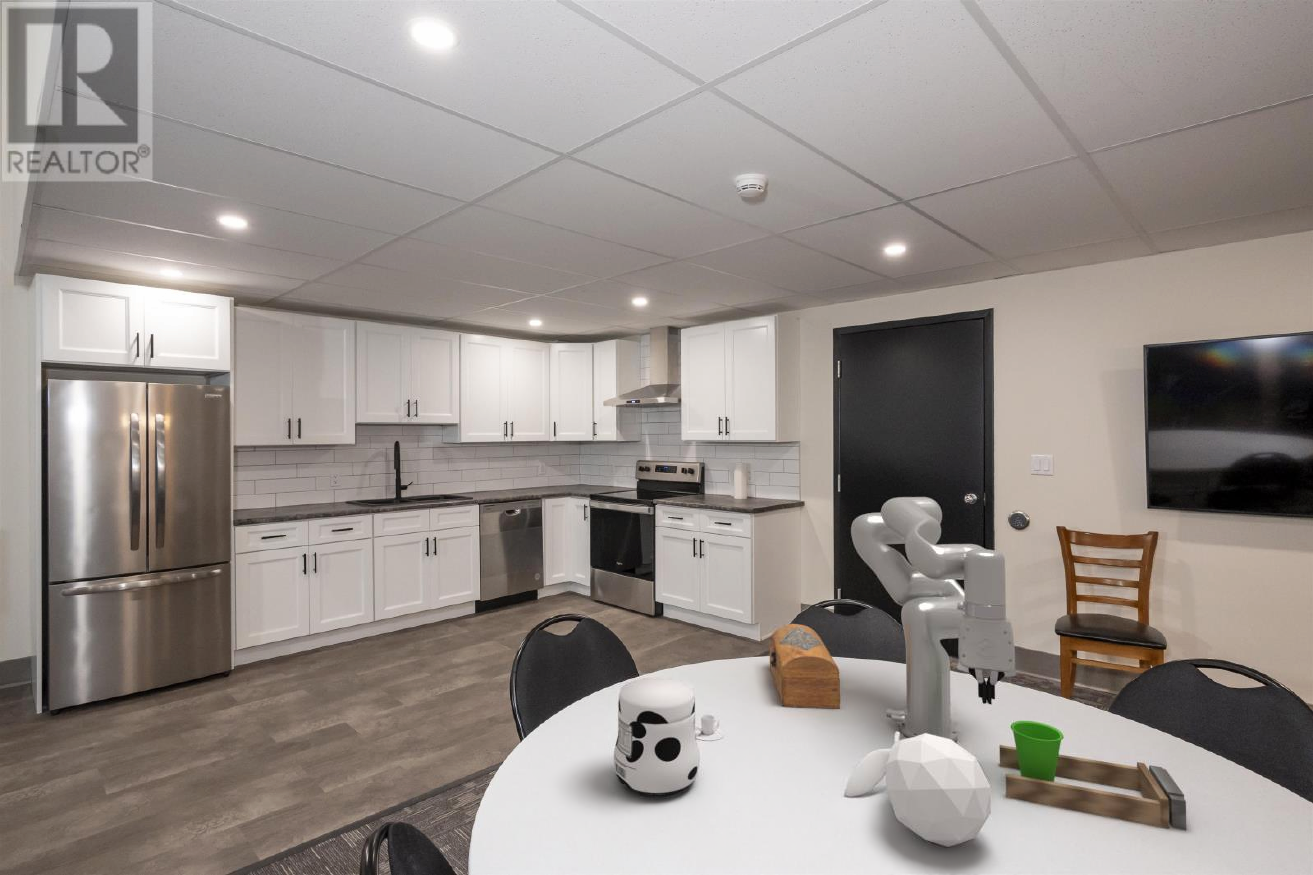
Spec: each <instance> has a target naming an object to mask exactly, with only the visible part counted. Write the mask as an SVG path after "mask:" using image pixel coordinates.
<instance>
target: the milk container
mask: <svg viewBox="0 0 1313 875" xmlns="http://www.w3.org/2000/svg"><path fill="white" fill-rule="evenodd" d="M694 691H695V690H694V688H693V687H692V686H691V685H690V683H688V682H687V683H686V682H685V681H682V680H679V679H675V678H671V677H645V678H639V679H635V680H631V681H629V682H626V683H625V684H623V685H622V686H621V687H620V691H619V695H618V705H617V708H618V712H617V718H618V720H617V722H618V726H617V727H618V732H617V738H616V743H615V745H614V750H613V767H614V770H615V775H616V777H617V779H618V780H619V782H620V784H622V785H623V786H624V787H626V788H628V789H629V790H630V791H633V792H636V793H639V794H641V795H650V796H663V795H665V796H666V795H671V794H674V793H678V792H681V791H683V790H684V789H686V788H688V787H689V786H691V785H692V784H693V783H694V782H695V780H696V778H697V777H698V773H699V768H700V763H701V762H700V761H701V760H700V759H701V756H700V749H699V748H700V747H699V744H698V741H697V740H698V739H697V738H696V735H695V726H696V710H695V709H696V699H695V692H694Z"/></svg>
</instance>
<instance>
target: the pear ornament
mask: <svg viewBox="0 0 1313 875" xmlns="http://www.w3.org/2000/svg"><path fill="white" fill-rule="evenodd" d="M900 735H901V733H900V732H899V731H898V730H897V731H895V732H894V736H893V738H894V739H893V740H894V743H893V745H892V747H890V748H879V749H878V748H877V749H875V750H873V751H870V752H869V753H868V754H866V755H865V756H863V758H862V759H861V760H860V761H859V762H858V764H856V766H855V767H854V769H853V770H852V772H851V774H850V776H849V778H848V781H847V784H846V787H845V789H844V797H845V796H846V797H848V798H850V797H857V796H862V795H864V794H867V793H868V792H870V791H871V790H873V788H875V787H876V786H877V785H878V784H879V783H880V782H881V780H883V778H884V777H885V789H886V793H887V795H888V798H889V800H890V803H891V806H892V809H893V812H894V814H895V817H896V820H898V822H900V823H901V824H903V825H904V826H905V827H907V828H908V829H910V830H911V831H913V832H914V833H915V834H917V835H918V836H919V837H920V838H922V839H923V840H925V841H928V842H931V843H933V844H934V843H935V844H937V845H940V846H943V847H947V848H951V847H953V846H956V845H959V844H963V843H964V842H968V841H971V840H974V839H976V838H977V836H978V835H979V833H980V832H981V830H982V828H983V827H984V825H985V823H986V822H987V820H988V819H989V817H990V815H991V812H992V807H991V806H992V805H991V804H992V803H991V801H992V800H991V799H992V798H991V795H992V794H991V792H992V790H991V784H990V783H989V781H988V779H987V777H986V775H985V774H984V772H983V769H982V767H981V765H980V764H979V762H978V760H977V758H976V756H974V755H973V754H971V753H970V752H969V751H967V750H966V749H964V748H963V747H962V746H961V745H959V744H957V742H956V741H955V742H954V741H952V740H951V739H947V738H943V737H939V736H935V735H931V734H927V733H924V734H922V735H919V736H916V737H912V738H909V737H906V738H903V739H900Z"/></svg>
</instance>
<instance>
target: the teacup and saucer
mask: <svg viewBox="0 0 1313 875" xmlns="http://www.w3.org/2000/svg"><path fill="white" fill-rule="evenodd" d="M715 721H718V722H717V725H716V726H715ZM719 726H720V720H719V719H718V718H715V716H714V715H712V714H703V715H701V716H700V725H699V726H697V725H695V735H696V740H700V741H706V742H707V741H708V742H709V741H710V742H713V741H718V740H721V739H722V738H724V736H725V734H726V733H725V732H724V730H723V729H722V728H720V727H719ZM715 731H716V732H718V735H717V736H715V737H713V738H712V737H710V738H706V737H701V734H703V735H705V736H711V735H713V733H714V732H715Z"/></svg>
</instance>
